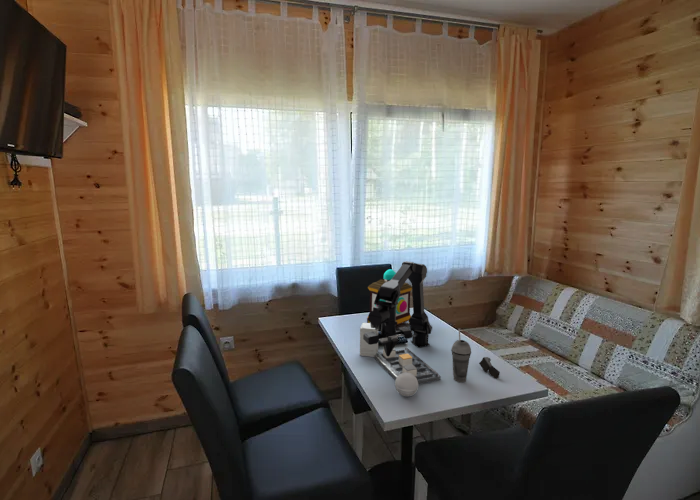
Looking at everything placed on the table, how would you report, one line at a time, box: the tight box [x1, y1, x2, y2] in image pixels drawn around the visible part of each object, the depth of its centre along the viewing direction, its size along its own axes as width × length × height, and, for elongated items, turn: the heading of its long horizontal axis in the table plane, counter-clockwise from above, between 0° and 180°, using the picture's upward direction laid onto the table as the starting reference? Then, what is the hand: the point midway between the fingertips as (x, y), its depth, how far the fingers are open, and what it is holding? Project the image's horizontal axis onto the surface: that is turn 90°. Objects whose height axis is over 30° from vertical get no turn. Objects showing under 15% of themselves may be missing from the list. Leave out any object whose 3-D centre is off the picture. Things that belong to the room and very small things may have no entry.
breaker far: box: [382, 347, 397, 358], centre depth 153 cm, size 4×4×3 cm
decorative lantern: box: [366, 268, 412, 326], centre depth 193 cm, size 20×20×30 cm
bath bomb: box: [394, 372, 419, 398], centre depth 128 cm, size 8×8×8 cm
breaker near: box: [402, 364, 417, 376], centre depth 138 cm, size 4×4×3 cm
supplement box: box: [359, 322, 379, 358], centre depth 160 cm, size 7×7×13 cm
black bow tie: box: [478, 356, 500, 379], centre depth 143 cm, size 9×2×6 cm
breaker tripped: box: [399, 354, 412, 366], centre depth 147 cm, size 4×4×3 cm
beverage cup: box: [450, 328, 472, 383], centre depth 137 cm, size 7×7×20 cm
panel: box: [374, 347, 441, 385], centre depth 147 cm, size 16×25×2 cm, turn 21°
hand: (387, 355), depth 143 cm, fingers closed
